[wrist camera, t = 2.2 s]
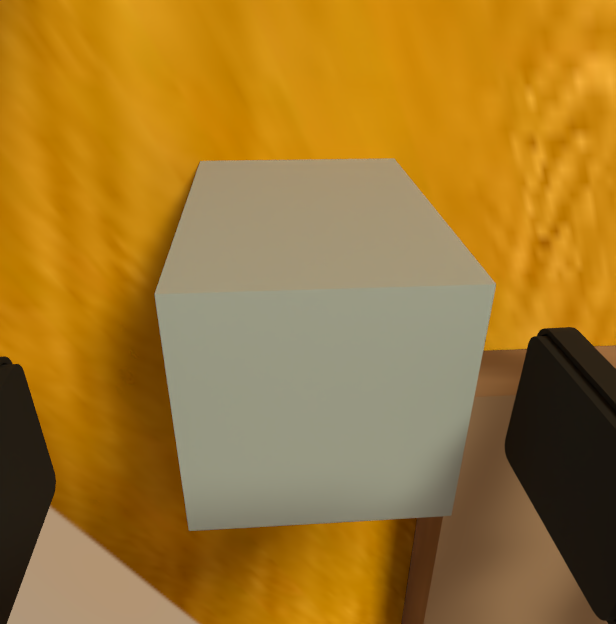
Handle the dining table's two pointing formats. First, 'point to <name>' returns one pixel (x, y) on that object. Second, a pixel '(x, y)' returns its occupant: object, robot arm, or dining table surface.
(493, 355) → the walnut base
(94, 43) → the dining table surface
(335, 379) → the slate block
